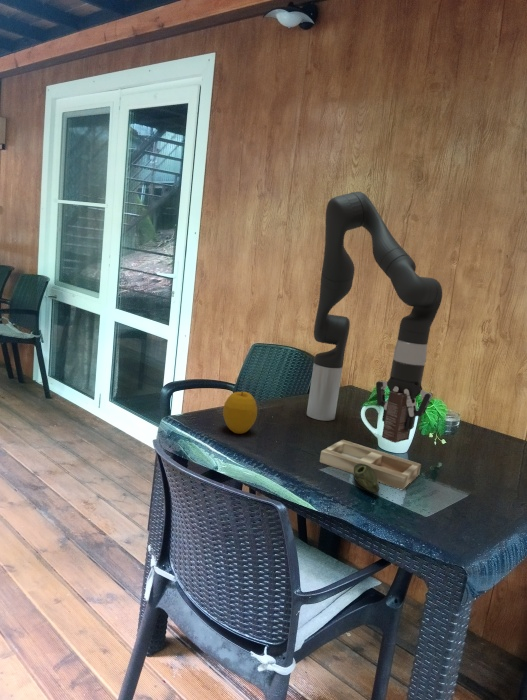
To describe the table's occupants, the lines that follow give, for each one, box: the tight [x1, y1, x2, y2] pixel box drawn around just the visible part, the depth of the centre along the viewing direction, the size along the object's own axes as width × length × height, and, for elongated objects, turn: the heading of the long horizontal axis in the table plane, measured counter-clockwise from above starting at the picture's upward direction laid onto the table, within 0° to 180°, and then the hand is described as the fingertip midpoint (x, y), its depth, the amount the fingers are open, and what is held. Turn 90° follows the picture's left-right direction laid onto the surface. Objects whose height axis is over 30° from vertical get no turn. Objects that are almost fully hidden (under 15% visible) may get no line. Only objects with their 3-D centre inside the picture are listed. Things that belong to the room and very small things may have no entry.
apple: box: [222, 391, 258, 435], centre depth 160 cm, size 10×10×12 cm
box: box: [381, 390, 417, 444], centre depth 140 cm, size 6×4×12 cm
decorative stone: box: [353, 463, 380, 493], centre depth 134 cm, size 11×8×5 cm
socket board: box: [319, 439, 422, 490], centre depth 145 cm, size 13×22×3 cm, turn 58°
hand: (397, 426), depth 141 cm, fingers closed on box, 5 cm apart
